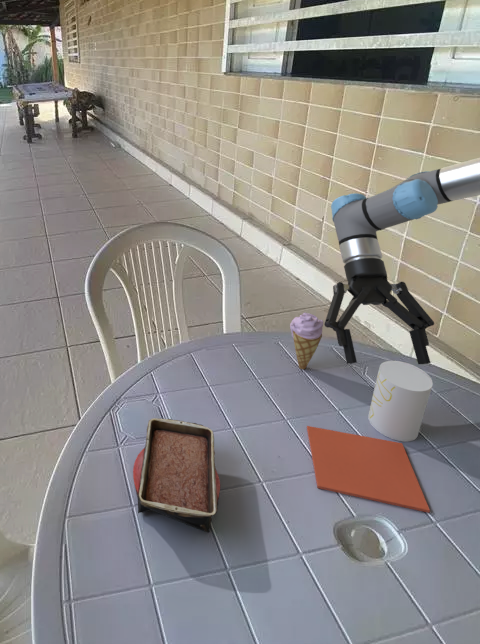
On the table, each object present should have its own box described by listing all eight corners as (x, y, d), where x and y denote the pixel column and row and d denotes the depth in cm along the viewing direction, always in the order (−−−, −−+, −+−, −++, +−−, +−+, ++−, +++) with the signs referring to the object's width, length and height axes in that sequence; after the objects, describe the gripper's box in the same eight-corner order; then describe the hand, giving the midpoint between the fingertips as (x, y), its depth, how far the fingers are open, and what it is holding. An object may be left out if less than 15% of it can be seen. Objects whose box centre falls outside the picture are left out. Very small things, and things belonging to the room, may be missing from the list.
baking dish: (222, 469, 78) (221, 421, 76) (218, 561, 62) (216, 503, 60) (146, 457, 83) (142, 411, 81) (123, 539, 66) (118, 484, 64)
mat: (401, 445, 78) (402, 443, 78) (429, 513, 67) (430, 510, 67) (306, 427, 83) (307, 425, 83) (317, 488, 72) (317, 485, 71)
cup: (368, 402, 88) (378, 356, 84) (416, 417, 84) (430, 368, 80) (368, 431, 82) (379, 382, 77) (420, 448, 78) (435, 397, 73)
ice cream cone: (286, 373, 97) (293, 318, 92) (284, 356, 103) (290, 303, 98) (318, 378, 95) (327, 322, 90) (314, 360, 101) (322, 306, 95)
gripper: (413, 266, 95) (442, 365, 86) (297, 267, 97) (315, 364, 89) (434, 255, 88) (468, 362, 79) (309, 257, 90) (329, 360, 82)
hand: (387, 363), depth 84 cm, fingers open, 13 cm apart
